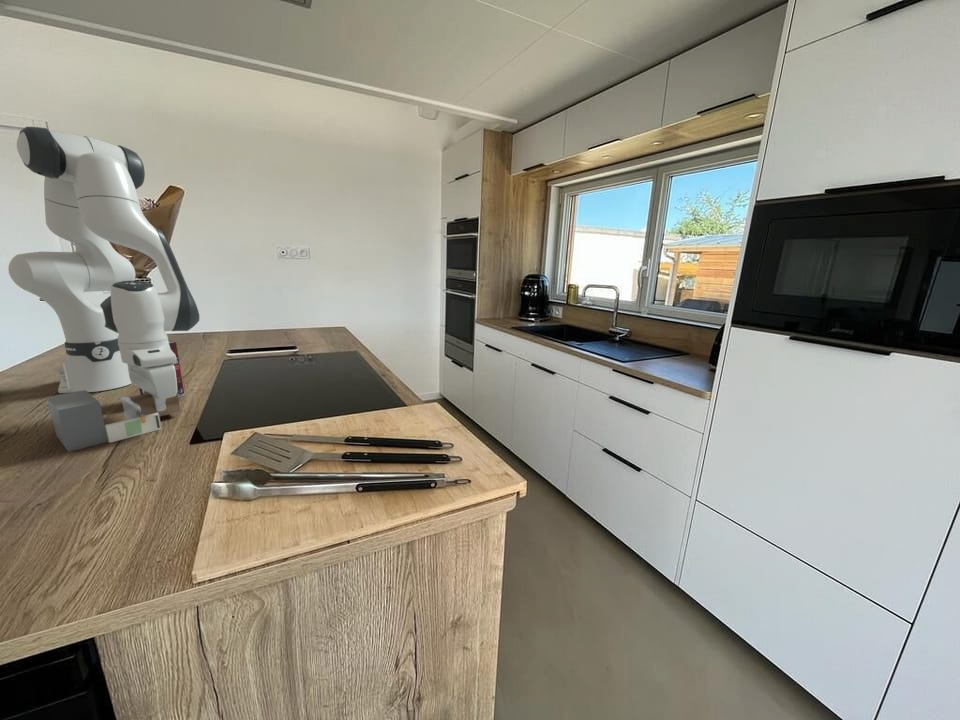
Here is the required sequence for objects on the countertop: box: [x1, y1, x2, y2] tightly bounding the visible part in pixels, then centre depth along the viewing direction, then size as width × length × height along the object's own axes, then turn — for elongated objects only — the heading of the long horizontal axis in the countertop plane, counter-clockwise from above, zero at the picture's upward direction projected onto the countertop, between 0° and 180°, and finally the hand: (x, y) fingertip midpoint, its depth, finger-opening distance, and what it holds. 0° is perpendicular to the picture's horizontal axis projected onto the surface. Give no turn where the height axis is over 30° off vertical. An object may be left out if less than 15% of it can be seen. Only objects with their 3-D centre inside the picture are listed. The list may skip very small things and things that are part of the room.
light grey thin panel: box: [121, 395, 146, 423], centre depth 89 cm, size 13×1×5 cm, turn 54°
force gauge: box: [46, 390, 163, 453], centre depth 86 cm, size 13×15×9 cm
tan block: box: [129, 393, 181, 417], centre depth 94 cm, size 4×8×5 cm, turn 145°
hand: (156, 407), depth 94 cm, fingers closed on tan block, 4 cm apart
